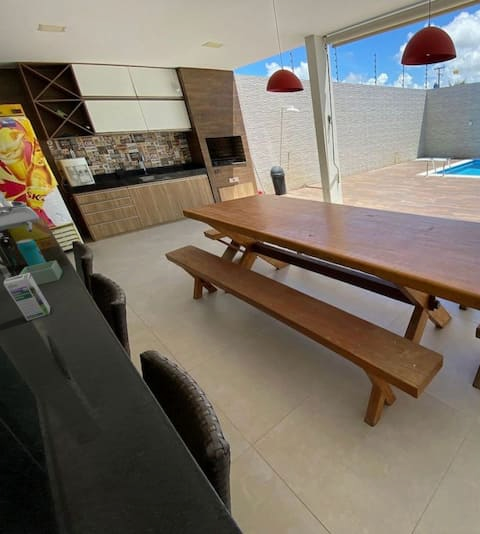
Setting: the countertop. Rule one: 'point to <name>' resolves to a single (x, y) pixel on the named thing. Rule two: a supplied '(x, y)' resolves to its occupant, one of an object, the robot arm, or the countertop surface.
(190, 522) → the countertop surface
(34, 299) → the syrup box
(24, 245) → the teal tall block
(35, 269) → the bin
